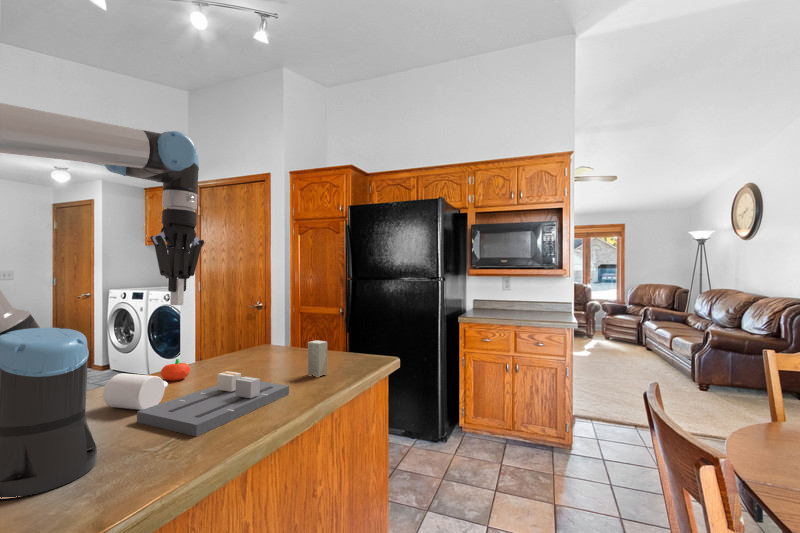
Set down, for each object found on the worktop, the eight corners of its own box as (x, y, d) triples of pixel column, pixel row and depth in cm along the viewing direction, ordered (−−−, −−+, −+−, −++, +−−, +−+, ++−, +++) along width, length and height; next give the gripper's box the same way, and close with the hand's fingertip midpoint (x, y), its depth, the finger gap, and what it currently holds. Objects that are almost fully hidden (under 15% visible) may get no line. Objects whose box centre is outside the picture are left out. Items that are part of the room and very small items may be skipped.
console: (199, 437, 79) (200, 425, 79) (136, 422, 86) (137, 410, 86) (291, 394, 107) (291, 385, 107) (238, 386, 114) (238, 377, 114)
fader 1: (231, 391, 100) (231, 375, 100) (217, 389, 101) (217, 373, 102) (240, 388, 103) (241, 372, 103) (226, 386, 104) (227, 370, 105)
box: (327, 375, 128) (328, 341, 128) (318, 378, 124) (319, 343, 124) (316, 372, 131) (316, 339, 131) (306, 375, 127) (307, 341, 127)
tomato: (158, 381, 119) (158, 360, 119) (187, 377, 124) (186, 356, 125) (163, 383, 114) (163, 361, 114) (193, 379, 119) (193, 357, 120)
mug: (137, 415, 90) (138, 381, 90) (102, 411, 92) (103, 378, 92) (176, 399, 102) (177, 368, 102) (144, 395, 104) (145, 366, 104)
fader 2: (250, 398, 95) (250, 381, 95) (235, 395, 97) (235, 378, 97) (259, 394, 98) (260, 378, 98) (244, 392, 100) (245, 375, 100)
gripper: (164, 204, 89) (160, 307, 88) (212, 213, 101) (210, 304, 100) (143, 206, 92) (140, 305, 91) (193, 214, 104) (190, 302, 103)
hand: (176, 304), depth 96 cm, fingers closed
